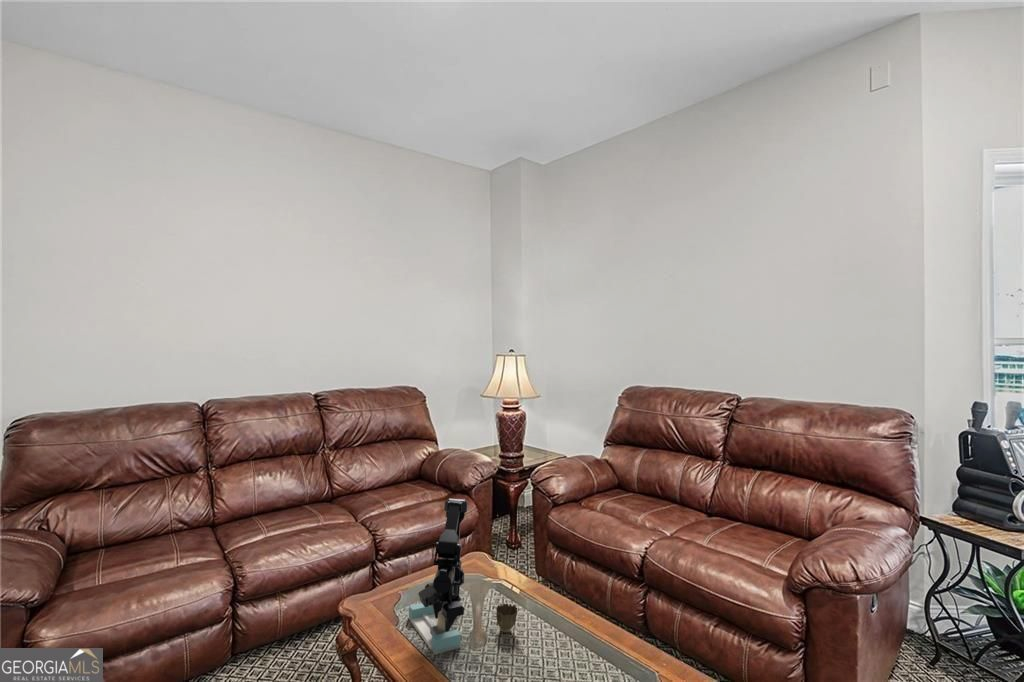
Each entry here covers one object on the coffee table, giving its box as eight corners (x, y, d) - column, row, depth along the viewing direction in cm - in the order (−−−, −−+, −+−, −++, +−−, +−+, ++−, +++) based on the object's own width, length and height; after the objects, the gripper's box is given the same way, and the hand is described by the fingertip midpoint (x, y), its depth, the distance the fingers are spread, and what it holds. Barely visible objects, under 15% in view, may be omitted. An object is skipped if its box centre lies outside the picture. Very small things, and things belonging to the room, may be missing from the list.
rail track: (431, 612, 191) (432, 600, 191) (460, 647, 171) (461, 634, 171) (408, 618, 186) (409, 605, 186) (434, 654, 166) (435, 640, 166)
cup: (494, 624, 186) (496, 602, 186) (514, 625, 187) (516, 603, 187) (495, 637, 179) (497, 613, 179) (516, 637, 179) (518, 614, 179)
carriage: (446, 631, 177) (448, 608, 177) (451, 638, 173) (453, 614, 173) (429, 635, 174) (431, 611, 174) (435, 643, 170) (437, 618, 170)
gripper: (411, 570, 177) (408, 615, 177) (434, 595, 161) (430, 646, 161) (442, 564, 183) (438, 608, 183) (466, 588, 167) (462, 637, 167)
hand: (441, 624), depth 173 cm, fingers open, 8 cm apart
